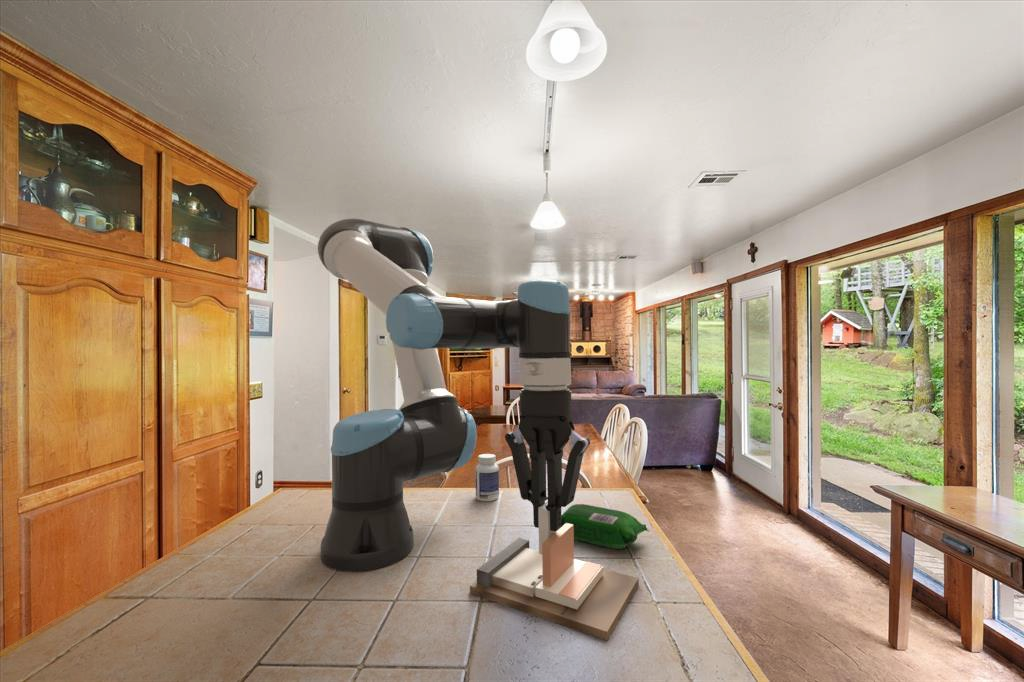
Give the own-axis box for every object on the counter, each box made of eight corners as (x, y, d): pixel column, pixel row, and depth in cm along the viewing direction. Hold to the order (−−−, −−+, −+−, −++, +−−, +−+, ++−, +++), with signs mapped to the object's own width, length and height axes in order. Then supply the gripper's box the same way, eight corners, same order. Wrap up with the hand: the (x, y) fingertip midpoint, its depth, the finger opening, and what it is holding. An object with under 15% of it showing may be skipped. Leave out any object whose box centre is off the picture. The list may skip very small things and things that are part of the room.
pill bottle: (503, 497, 101) (503, 455, 101) (486, 503, 98) (485, 459, 98) (488, 492, 105) (488, 451, 105) (470, 498, 101) (470, 455, 102)
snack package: (637, 559, 72) (636, 527, 72) (551, 537, 80) (551, 508, 80) (649, 543, 78) (648, 514, 78) (568, 524, 86) (568, 497, 86)
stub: (535, 596, 59) (534, 545, 59) (565, 564, 67) (565, 520, 68) (577, 609, 56) (576, 555, 56) (603, 574, 64) (602, 527, 64)
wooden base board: (469, 592, 62) (469, 571, 62) (519, 552, 74) (519, 534, 74) (607, 640, 52) (606, 614, 52) (638, 584, 64) (638, 564, 64)
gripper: (493, 388, 64) (495, 551, 63) (576, 391, 57) (580, 573, 57) (519, 384, 70) (521, 532, 70) (596, 386, 64) (600, 550, 63)
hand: (547, 551), depth 63 cm, fingers closed
